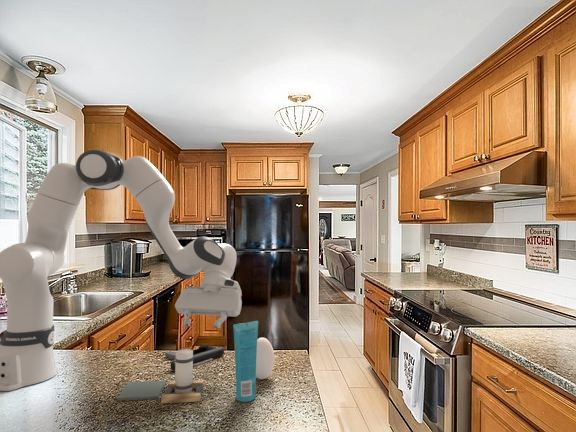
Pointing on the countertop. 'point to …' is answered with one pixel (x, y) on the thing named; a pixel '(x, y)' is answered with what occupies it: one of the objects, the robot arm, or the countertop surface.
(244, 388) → the tube
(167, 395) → the cradle
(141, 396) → the mat
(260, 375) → the egg
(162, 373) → the countertop surface
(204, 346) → the door handle
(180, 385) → the white cylinder
